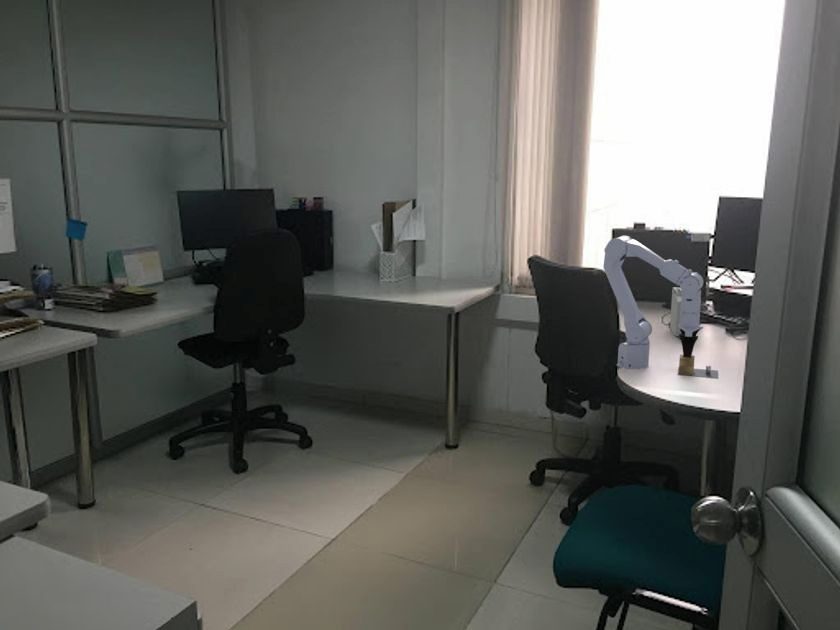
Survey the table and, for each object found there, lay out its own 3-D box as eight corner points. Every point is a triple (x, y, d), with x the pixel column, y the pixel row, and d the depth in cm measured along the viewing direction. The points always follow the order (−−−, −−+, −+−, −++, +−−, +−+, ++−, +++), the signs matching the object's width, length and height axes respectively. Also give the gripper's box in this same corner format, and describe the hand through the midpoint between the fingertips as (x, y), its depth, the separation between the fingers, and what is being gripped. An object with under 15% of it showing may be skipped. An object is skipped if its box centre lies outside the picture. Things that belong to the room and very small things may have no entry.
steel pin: (707, 374, 225) (708, 366, 224) (704, 373, 226) (705, 365, 226) (711, 374, 225) (711, 366, 225) (708, 372, 227) (709, 365, 226)
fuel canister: (690, 338, 272) (694, 274, 267) (676, 338, 273) (680, 274, 268) (682, 329, 287) (686, 268, 282) (669, 329, 288) (673, 267, 282)
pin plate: (677, 378, 225) (677, 375, 225) (678, 370, 233) (678, 367, 233) (718, 381, 221) (718, 378, 221) (717, 373, 229) (718, 370, 229)
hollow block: (678, 373, 227) (679, 357, 226) (679, 369, 231) (680, 354, 230) (693, 374, 225) (694, 359, 224) (693, 370, 229) (694, 355, 228)
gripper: (703, 317, 216) (700, 360, 219) (704, 307, 229) (701, 348, 232) (679, 315, 218) (676, 358, 221) (680, 306, 232) (678, 347, 235)
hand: (687, 353), depth 227 cm, fingers open, 7 cm apart
